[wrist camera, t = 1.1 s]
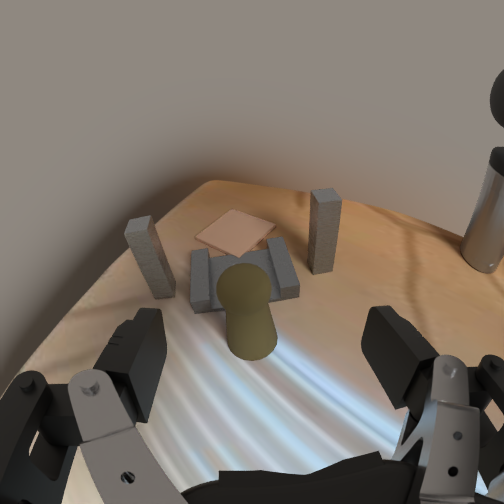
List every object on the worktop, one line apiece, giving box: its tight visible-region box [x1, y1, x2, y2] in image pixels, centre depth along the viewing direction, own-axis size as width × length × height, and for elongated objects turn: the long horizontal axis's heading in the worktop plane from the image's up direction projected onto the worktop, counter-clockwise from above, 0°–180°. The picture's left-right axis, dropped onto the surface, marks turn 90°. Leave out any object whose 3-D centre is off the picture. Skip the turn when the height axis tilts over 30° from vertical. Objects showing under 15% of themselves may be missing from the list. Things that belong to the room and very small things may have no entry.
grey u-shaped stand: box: [124, 188, 342, 314], centre depth 35 cm, size 10×26×12 cm, turn 98°
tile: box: [195, 209, 276, 258], centre depth 47 cm, size 10×10×1 cm
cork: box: [216, 263, 278, 361], centre depth 28 cm, size 6×6×11 cm
